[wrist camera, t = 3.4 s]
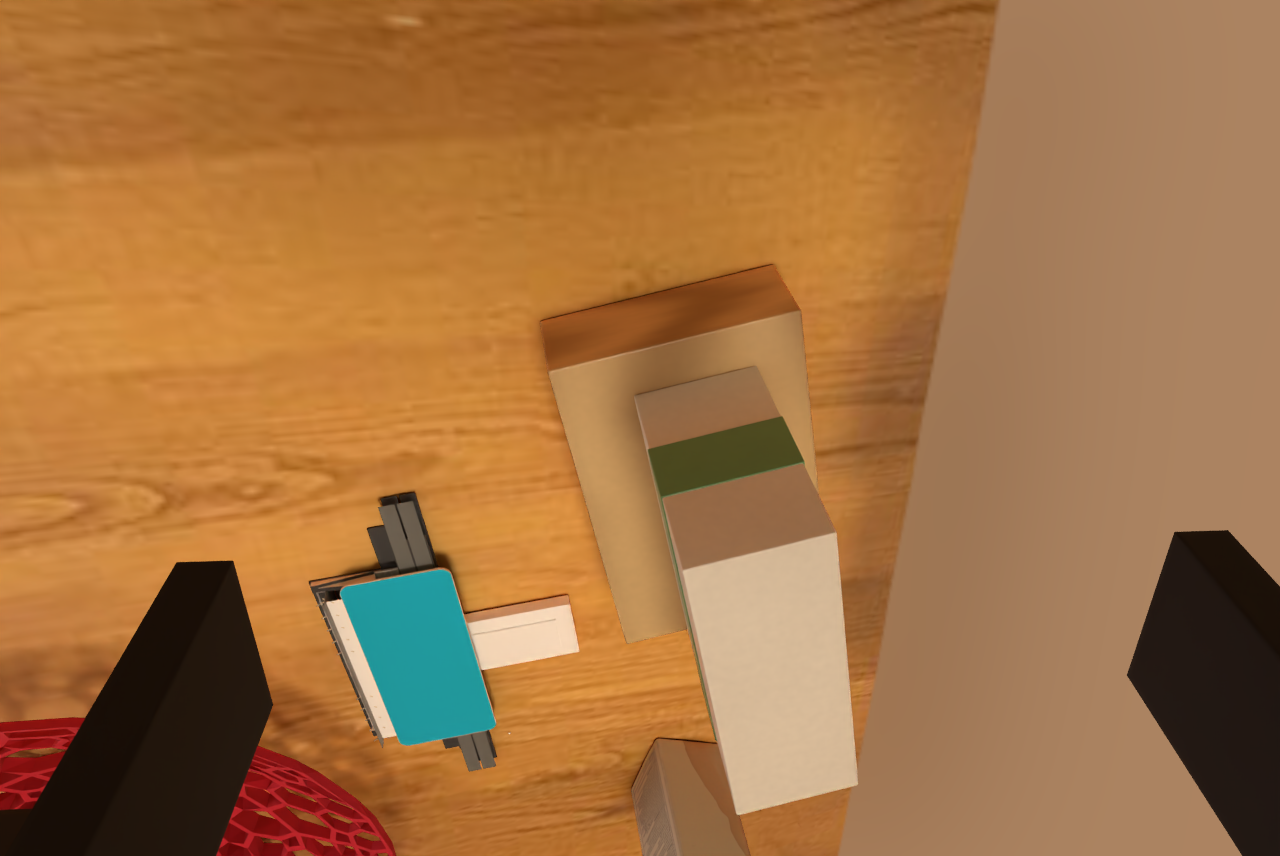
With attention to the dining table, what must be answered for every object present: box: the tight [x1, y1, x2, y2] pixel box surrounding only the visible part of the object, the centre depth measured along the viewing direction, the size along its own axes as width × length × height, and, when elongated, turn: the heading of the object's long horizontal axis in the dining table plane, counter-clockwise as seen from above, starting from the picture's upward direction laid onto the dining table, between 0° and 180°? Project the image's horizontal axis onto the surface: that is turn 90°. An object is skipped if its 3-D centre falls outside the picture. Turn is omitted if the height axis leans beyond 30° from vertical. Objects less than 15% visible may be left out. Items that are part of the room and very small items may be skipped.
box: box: [631, 739, 751, 856], centre depth 55 cm, size 5×4×11 cm
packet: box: [634, 366, 858, 815], centre depth 39 cm, size 14×5×10 cm, turn 10°
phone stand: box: [309, 493, 579, 771], centre depth 50 cm, size 20×12×2 cm, turn 6°
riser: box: [540, 265, 819, 644], centre depth 44 cm, size 10×16×4 cm, turn 11°
